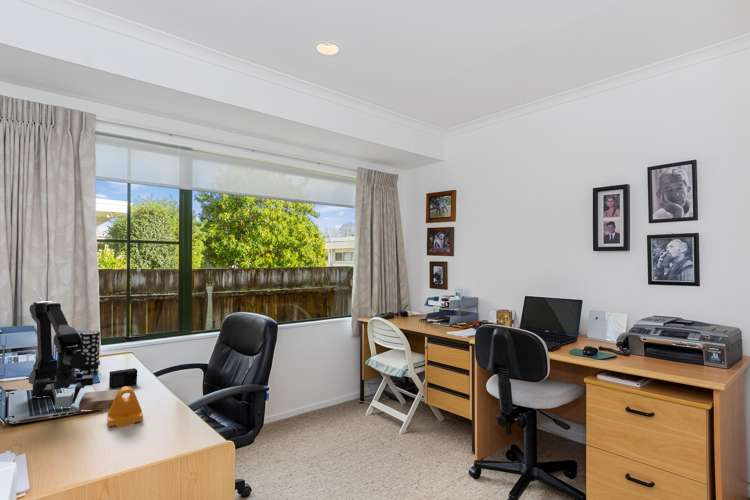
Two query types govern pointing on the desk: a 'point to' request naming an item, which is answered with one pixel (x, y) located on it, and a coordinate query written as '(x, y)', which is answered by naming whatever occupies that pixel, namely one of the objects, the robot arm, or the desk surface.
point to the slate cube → (64, 399)
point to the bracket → (124, 409)
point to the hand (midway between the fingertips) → (64, 404)
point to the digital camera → (123, 378)
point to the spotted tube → (90, 351)
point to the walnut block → (97, 400)
